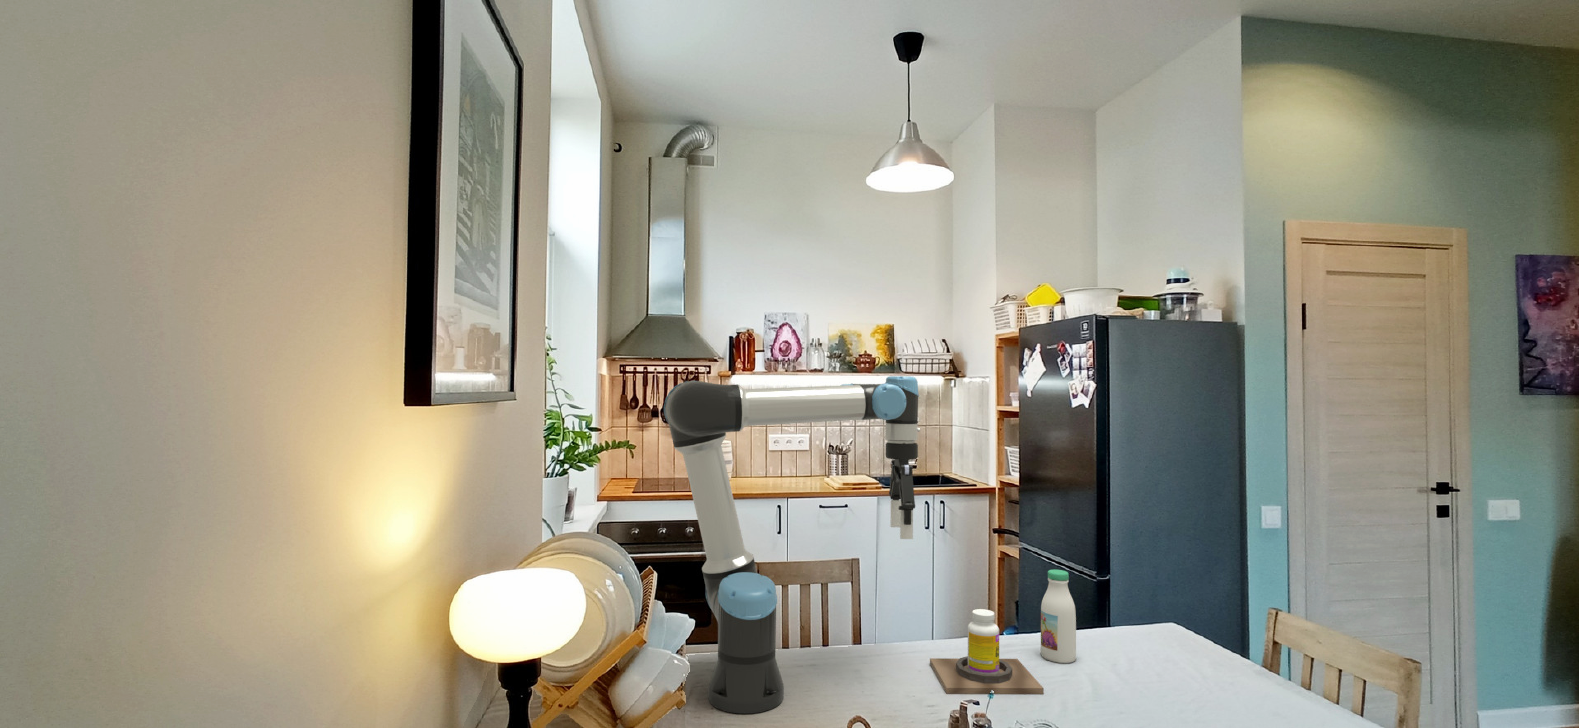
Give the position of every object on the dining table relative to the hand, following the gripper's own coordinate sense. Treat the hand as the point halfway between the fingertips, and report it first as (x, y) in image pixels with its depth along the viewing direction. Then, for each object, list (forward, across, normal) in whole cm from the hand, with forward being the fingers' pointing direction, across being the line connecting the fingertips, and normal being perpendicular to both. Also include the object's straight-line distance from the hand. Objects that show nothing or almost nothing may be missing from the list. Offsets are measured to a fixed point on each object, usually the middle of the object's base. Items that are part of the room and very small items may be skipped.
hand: (901, 532), depth 167 cm
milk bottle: (+29, 0, -37) cm, 47 cm away
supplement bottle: (+28, -12, -16) cm, 34 cm away
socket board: (+29, -12, -16) cm, 35 cm away
